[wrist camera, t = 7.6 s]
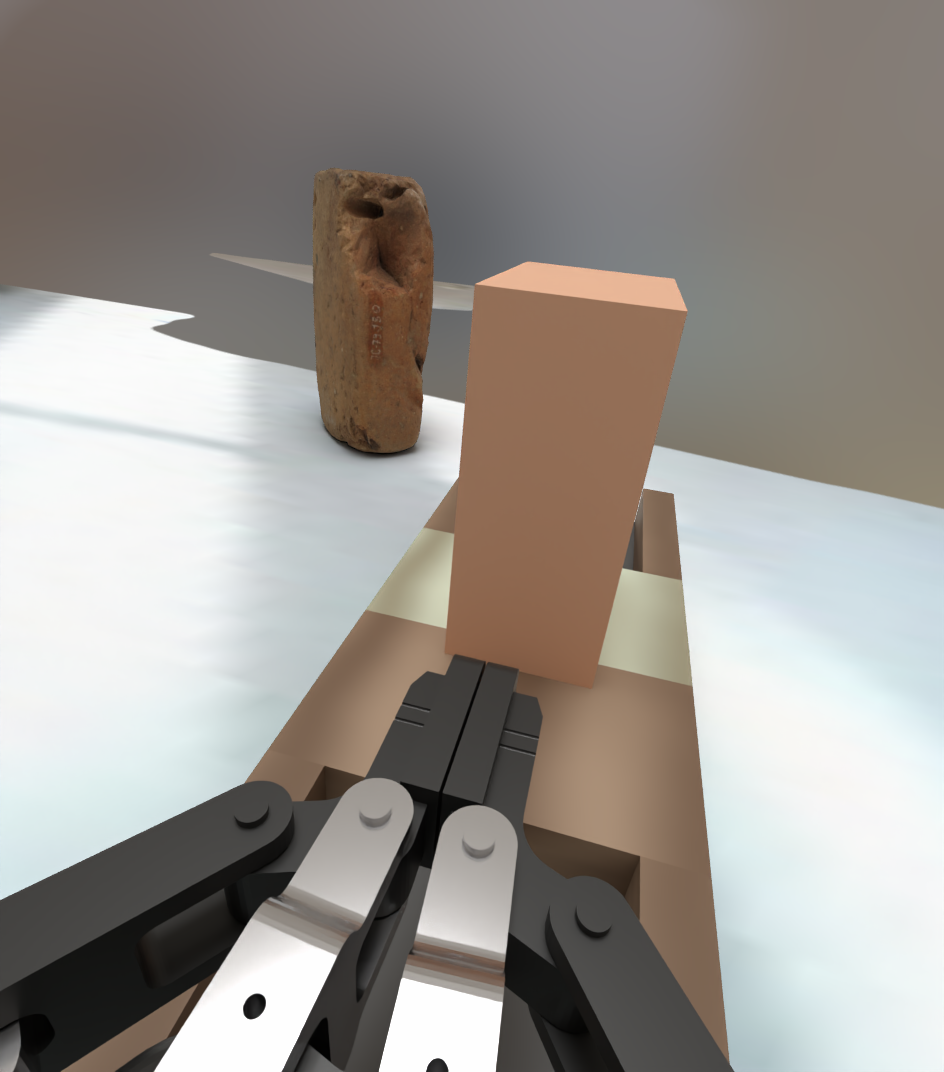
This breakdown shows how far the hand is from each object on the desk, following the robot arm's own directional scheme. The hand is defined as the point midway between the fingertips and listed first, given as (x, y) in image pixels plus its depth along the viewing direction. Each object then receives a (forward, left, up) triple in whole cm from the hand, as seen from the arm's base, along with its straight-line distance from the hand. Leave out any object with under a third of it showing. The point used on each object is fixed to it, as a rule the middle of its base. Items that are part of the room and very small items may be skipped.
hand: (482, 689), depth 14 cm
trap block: (0, +13, -6) cm, 14 cm away
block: (-18, +37, -10) cm, 42 cm away
